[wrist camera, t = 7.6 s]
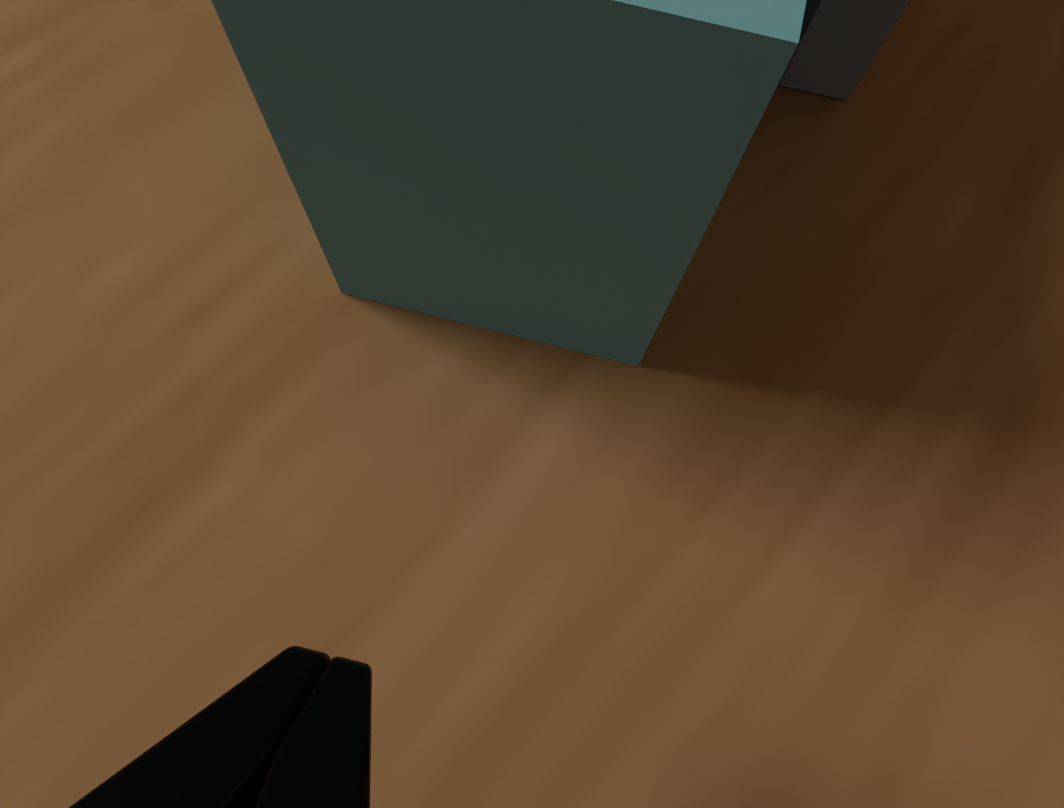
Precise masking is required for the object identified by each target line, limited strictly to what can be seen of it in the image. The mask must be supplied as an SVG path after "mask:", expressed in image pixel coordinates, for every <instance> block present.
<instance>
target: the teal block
mask: <svg viewBox="0 0 1064 808" xmlns="http://www.w3.org/2000/svg"><path fill="white" fill-rule="evenodd" d="M212 3H213V5H214V7H215V9H216V12H217V14H218V16H219V18H220V21H221V23H222V25H223V27H224V30H225V32H226V34H227V36H228V39H229V41H230V43H231V45H232V48H233V50H234V52H235V54H236V57H237V59H238V61H239V63H240V65H241V68H242V70H243V72H244V74H245V77H246V79H247V81H248V83H249V86H250V88H251V90H252V92H253V95H254V97H255V99H256V101H257V104H258V106H259V108H260V110H261V113H262V115H263V117H264V119H265V122H266V124H267V126H268V128H269V131H270V133H271V135H272V137H273V140H274V142H275V144H276V146H277V149H278V151H279V153H280V155H281V158H282V160H283V162H284V164H285V167H286V169H287V171H288V173H289V176H290V178H291V180H292V182H293V185H294V187H295V189H296V191H297V193H298V196H299V198H300V200H301V202H302V205H303V207H304V209H305V211H306V214H307V216H308V218H309V220H310V223H311V225H312V227H313V229H314V232H315V234H316V236H317V238H318V241H319V243H320V245H321V247H322V250H323V252H324V254H325V256H326V259H327V261H328V263H329V265H330V268H331V270H332V272H333V274H334V277H335V279H336V281H337V283H338V286H339V288H340V290H341V292H342V293H344V294H348V295H352V296H356V297H360V298H364V299H368V300H372V301H376V302H380V303H384V304H388V305H392V306H396V307H400V308H404V309H408V310H412V311H416V312H420V313H424V314H428V315H432V316H437V317H441V318H445V319H449V320H453V321H457V322H461V323H465V324H469V325H473V326H477V327H481V328H485V329H489V330H493V331H497V332H501V333H505V334H509V335H513V336H517V337H521V338H525V339H529V340H533V341H538V342H542V343H546V344H550V345H554V346H558V347H562V348H566V349H570V350H574V351H578V352H582V353H586V354H590V355H594V356H598V357H602V358H606V359H610V360H614V361H618V362H622V363H626V364H630V365H634V366H639V364H640V362H641V360H642V358H643V356H644V354H645V352H646V350H647V348H648V346H649V343H650V341H651V339H652V337H653V335H654V333H655V331H656V329H657V327H658V325H659V323H660V321H661V319H662V317H663V315H664V313H665V311H666V309H667V307H668V305H669V303H670V301H671V299H672V297H673V295H674V293H675V291H676V289H677V287H678V285H679V283H680V281H681V279H682V277H683V275H684V273H685V271H686V269H687V267H688V265H689V263H690V261H691V259H692V257H693V255H694V253H695V251H696V249H697V247H698V245H699V243H700V241H701V239H702V237H703V235H704V233H705V231H706V229H707V227H708V225H709V223H710V221H711V219H712V217H713V215H714V213H715V211H716V209H717V207H718V205H719V203H720V200H721V198H722V196H723V194H724V192H725V190H726V188H727V186H728V184H729V182H730V180H731V178H732V176H733V174H734V172H735V170H736V168H737V166H738V164H739V162H740V160H741V158H742V156H743V154H744V152H745V150H746V148H747V146H748V144H749V142H750V140H751V138H752V136H753V134H754V132H755V130H756V128H757V126H758V124H759V122H760V120H761V118H762V116H763V114H764V112H765V110H766V108H767V106H768V104H769V102H770V100H771V98H772V96H773V94H774V92H775V90H776V88H777V86H778V84H779V82H780V80H781V78H782V76H783V74H784V72H785V70H786V68H787V66H788V64H789V62H790V60H791V58H792V55H793V53H794V51H795V49H796V47H797V45H798V43H799V38H800V33H801V27H802V22H803V16H804V11H805V6H806V0H212Z"/></svg>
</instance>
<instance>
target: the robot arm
mask: <svg viewBox="0 0 1064 808" xmlns="http://www.w3.org/2000/svg"><path fill="white" fill-rule="evenodd" d="M371 691H372V671H371V667H370V666H369V665H368V664H366V663H362V662H359V661H355V660H351V659H347V658H343V657H334V658H332V659H331V660H330V657H329V656H328V655H327V654H326V653H323V652H319V651H315V650H311V649H308V648H304V647H300V646H292V647H289V648H287V649H285V650H284V651H282V652H281V653H280V654H278V655H277V656H275V657H274V658H273V659H271V660H270V661H269V662H267V663H266V664H264V665H263V666H262V667H260V668H259V669H258V670H256V671H255V672H254V673H252V674H251V675H249V676H248V677H247V678H245V679H244V680H243V681H241V682H240V683H239V684H237V685H236V686H234V687H233V688H232V689H230V690H229V691H228V692H226V693H225V694H223V695H222V696H221V697H219V698H218V699H217V700H215V701H214V702H213V703H211V704H210V705H208V706H207V707H206V708H204V709H203V710H202V711H200V712H199V713H198V714H196V715H195V716H193V717H192V718H191V719H189V720H188V721H187V722H185V723H184V724H182V725H181V726H180V727H178V728H177V729H176V730H174V731H173V732H172V733H170V734H169V735H167V736H166V737H165V738H163V739H162V740H161V741H159V742H158V743H157V744H155V745H154V746H152V747H151V748H150V749H148V750H147V751H146V752H144V753H143V754H141V755H140V756H139V757H137V758H136V759H135V760H133V761H132V762H131V763H129V764H128V765H126V766H125V767H124V768H122V769H121V770H120V771H118V772H117V773H116V774H114V775H113V776H111V777H110V778H109V779H107V780H106V781H105V782H103V783H102V784H100V785H99V786H98V787H96V788H95V789H94V790H92V791H91V792H90V793H88V794H87V795H85V796H84V797H83V798H81V799H80V800H79V801H77V802H76V803H75V804H73V805H72V806H70V807H69V808H370V761H371Z"/></svg>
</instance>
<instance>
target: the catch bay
mask: <svg viewBox="0 0 1064 808" xmlns="http://www.w3.org/2000/svg"><path fill="white" fill-rule="evenodd" d="M909 2H910V0H806V6H805V11H804V16H803V22H802V27H801V33H800V38H799V43H798V45H797V47H796V49H795V51H794V53H793V55H792V58H791V60H790V62H789V64H788V66H787V68H786V70H785V72H784V74H783V76H782V78H781V80H780V83H779V85H780V86H785V87H789V88H794V89H798V90H803V91H807V92H812V93H816V94H821V95H825V96H830V97H834V98H839V99H844V100H847V99H848V97H849V96H850V94H851V93H852V91H853V89H854V88H855V86H856V85H857V83H858V82H859V80H860V78H861V77H862V75H863V74H864V72H865V71H866V69H867V68H868V66H869V64H870V63H871V61H872V60H873V58H874V57H875V55H876V53H877V52H878V50H879V49H880V47H881V46H882V44H883V42H884V41H885V39H886V38H887V36H888V35H889V33H890V31H891V30H892V28H893V27H894V25H895V24H896V22H897V21H898V19H899V17H900V16H901V14H902V13H903V11H904V10H905V8H906V6H907V5H908V3H909Z"/></svg>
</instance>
